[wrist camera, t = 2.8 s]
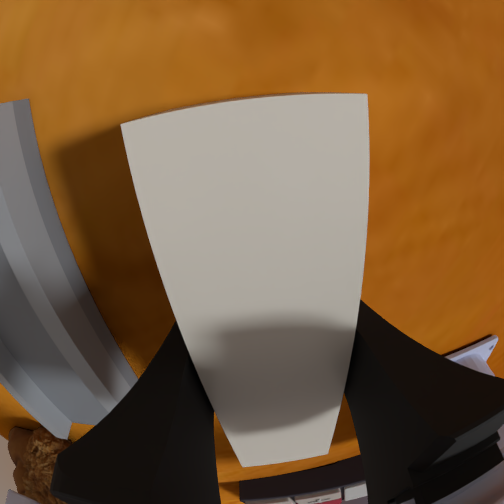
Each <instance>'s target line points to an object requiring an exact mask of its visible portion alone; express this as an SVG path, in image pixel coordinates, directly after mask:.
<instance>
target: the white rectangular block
mask: <svg viewBox="0 0 504 504" xmlns="http://www.w3.org/2000/svg"><path fill="white" fill-rule="evenodd" d="M120 125H121V130H122V135H123V139H124V144H125V149H126V153H127V158H128V162H129V166H130V171H131V175H132V179H133V183H134V187H135V191H136V194H137V198H138V202H139V206H140V209H141V213H142V217H143V220H144V224H145V227H146V231H147V234H148V237H149V241H150V244H151V247H152V250H153V254H154V257H155V260H156V263H157V266H158V269H159V272H160V275H161V278H162V281H163V284H164V287H165V290H166V293H167V296H168V299H169V301H170V304H171V307H172V310H173V312H174V315H175V318H176V321H177V323H178V326H179V329H180V331H181V334H182V336H183V339H184V341H185V344H186V346H187V349H188V351H189V354H190V356H191V359H192V361H193V364H194V366H195V368H196V371H197V373H198V375H199V378H200V380H201V382H202V385H203V387H204V389H205V391H206V394H207V396H208V398H209V400H210V402H211V405H212V407H213V409H214V411H215V413H216V415H217V417H218V420H219V422H220V424H221V426H222V428H223V430H224V432H225V434H226V436H227V438H228V440H229V442H230V444H231V446H232V448H233V450H234V452H235V454H236V455H237V457H238V459H239V461H240V463H241V465H242V467H249V466H259V465H267V464H275V463H282V462H288V461H294V460H300V459H305V458H310V457H315V456H320V455H325V454H328V451H329V448H330V444H331V441H332V437H333V433H334V430H335V426H336V422H337V418H338V414H339V410H340V406H341V402H342V397H343V393H344V389H345V384H346V379H347V374H348V370H349V364H350V359H351V354H352V348H353V343H354V337H355V331H356V324H357V318H358V311H359V304H360V296H361V288H362V280H363V270H364V260H365V249H366V236H367V221H368V200H369V119H368V99H367V94H359V93H335V92H299V93H283V94H270V95H260V96H250V97H242V98H234V99H227V100H220V101H214V102H207V103H202V104H196V105H191V106H185V107H180V108H176V109H171V110H167V111H163V112H159V113H156V114H152V115H149V116H145V117H142V118H139V119H136V120H132V121H129V122H126V123H123V124H120Z"/></svg>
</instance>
